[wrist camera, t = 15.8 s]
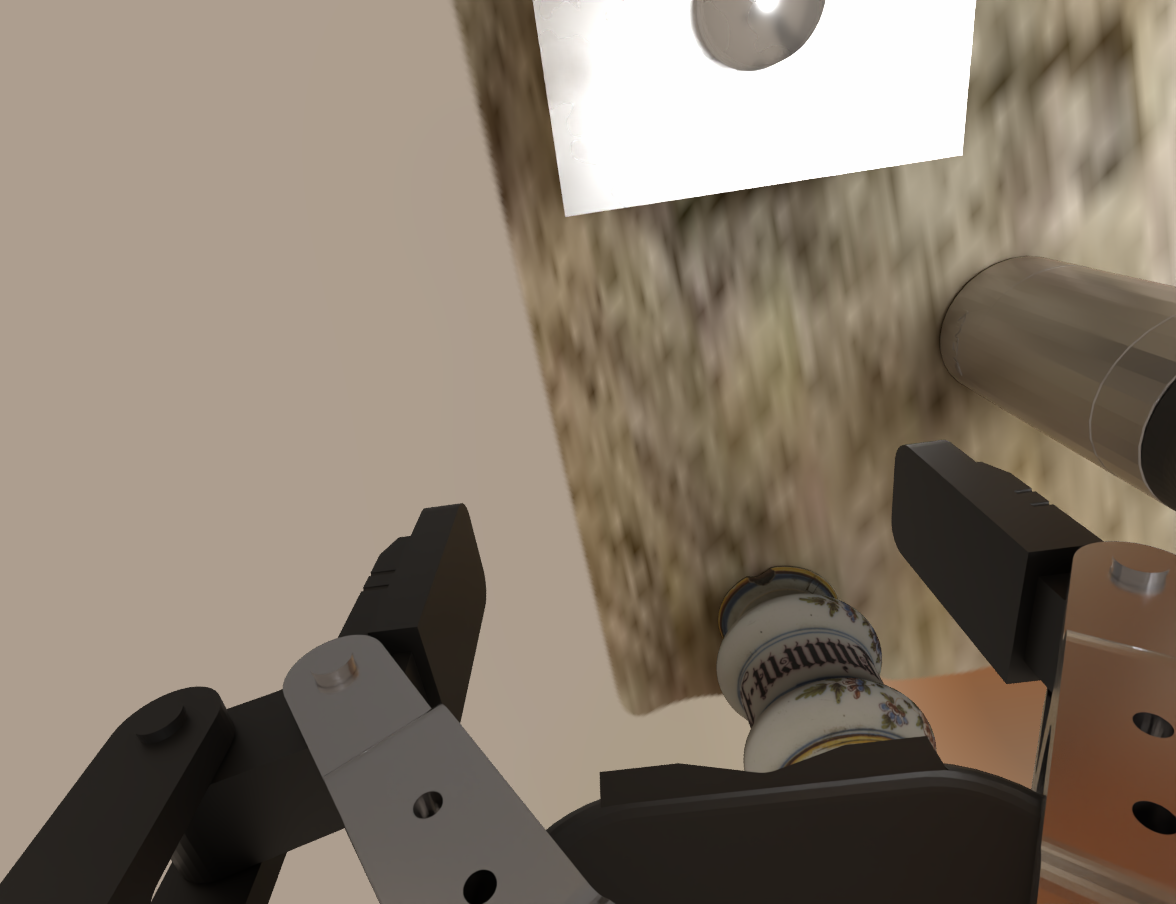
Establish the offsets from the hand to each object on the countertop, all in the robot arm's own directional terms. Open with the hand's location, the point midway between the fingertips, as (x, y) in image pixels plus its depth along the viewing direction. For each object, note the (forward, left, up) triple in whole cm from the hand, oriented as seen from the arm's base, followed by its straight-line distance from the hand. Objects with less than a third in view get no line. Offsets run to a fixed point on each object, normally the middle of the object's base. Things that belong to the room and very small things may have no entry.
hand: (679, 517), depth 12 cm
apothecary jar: (-10, +30, -32) cm, 45 cm away
